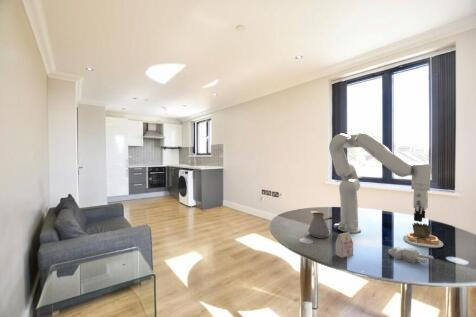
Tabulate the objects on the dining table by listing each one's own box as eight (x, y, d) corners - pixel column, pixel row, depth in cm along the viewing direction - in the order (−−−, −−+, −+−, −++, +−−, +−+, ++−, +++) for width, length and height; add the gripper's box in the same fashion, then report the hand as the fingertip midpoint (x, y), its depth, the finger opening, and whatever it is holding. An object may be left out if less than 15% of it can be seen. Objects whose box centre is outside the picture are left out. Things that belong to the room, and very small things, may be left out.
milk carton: (335, 254, 102) (335, 233, 102) (346, 252, 105) (346, 231, 105) (342, 257, 99) (341, 235, 99) (353, 255, 102) (352, 233, 102)
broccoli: (426, 243, 111) (426, 227, 111) (409, 239, 117) (409, 223, 117) (433, 240, 114) (433, 225, 114) (417, 236, 121) (416, 221, 121)
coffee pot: (303, 234, 130) (303, 209, 130) (318, 231, 136) (317, 207, 136) (334, 247, 111) (333, 217, 111) (349, 242, 116) (349, 214, 117)
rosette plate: (425, 249, 106) (425, 243, 106) (395, 238, 122) (395, 232, 122) (452, 246, 109) (451, 240, 109) (419, 235, 125) (419, 230, 125)
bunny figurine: (395, 243, 105) (434, 250, 91) (397, 254, 104) (436, 263, 91) (383, 247, 100) (423, 255, 87) (385, 259, 100) (425, 269, 86)
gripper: (427, 189, 107) (426, 224, 108) (432, 186, 119) (431, 217, 120) (408, 187, 113) (407, 221, 113) (414, 184, 125) (413, 215, 125)
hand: (419, 219), depth 116 cm, fingers open, 9 cm apart
